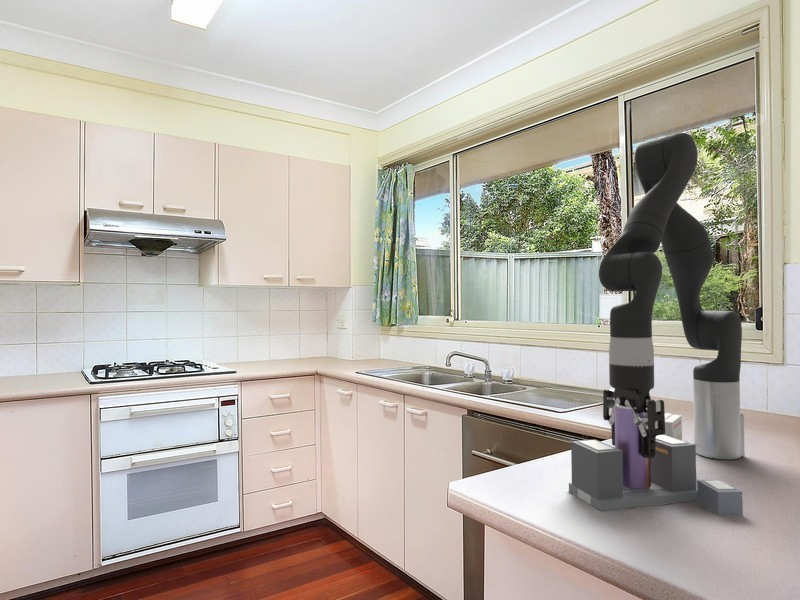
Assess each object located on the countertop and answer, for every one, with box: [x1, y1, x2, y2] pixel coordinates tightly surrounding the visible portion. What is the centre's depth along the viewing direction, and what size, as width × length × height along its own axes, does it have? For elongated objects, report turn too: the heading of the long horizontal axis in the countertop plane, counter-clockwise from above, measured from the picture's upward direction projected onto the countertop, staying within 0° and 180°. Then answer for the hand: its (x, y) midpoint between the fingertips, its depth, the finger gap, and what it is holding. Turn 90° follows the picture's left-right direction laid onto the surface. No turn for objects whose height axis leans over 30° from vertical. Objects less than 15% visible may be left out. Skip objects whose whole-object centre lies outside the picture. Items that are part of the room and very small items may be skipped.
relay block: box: [696, 479, 744, 517], centre depth 90 cm, size 6×4×4 cm, turn 0°
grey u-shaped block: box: [568, 435, 698, 512], centre depth 96 cm, size 20×10×10 cm, turn 103°
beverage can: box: [614, 403, 651, 492], centre depth 96 cm, size 6×6×15 cm
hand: (632, 451), depth 96 cm, fingers open, 8 cm apart
